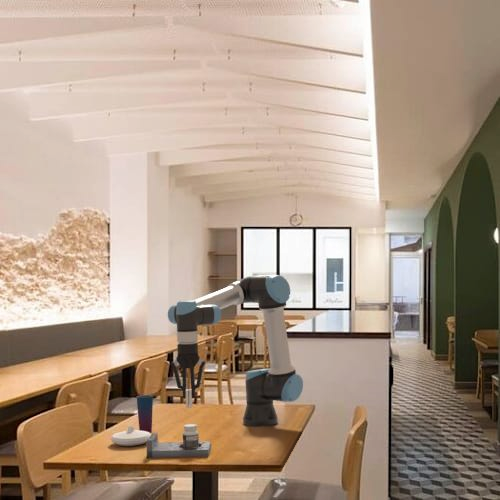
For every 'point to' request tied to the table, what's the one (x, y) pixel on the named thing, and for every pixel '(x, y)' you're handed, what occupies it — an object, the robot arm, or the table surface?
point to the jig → (175, 449)
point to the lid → (130, 437)
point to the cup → (145, 412)
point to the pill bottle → (190, 436)
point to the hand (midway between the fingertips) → (189, 407)
